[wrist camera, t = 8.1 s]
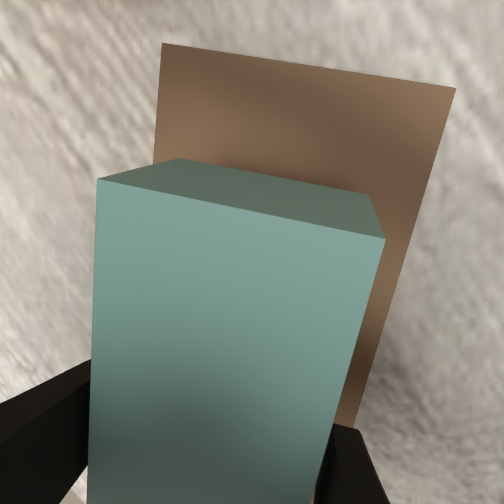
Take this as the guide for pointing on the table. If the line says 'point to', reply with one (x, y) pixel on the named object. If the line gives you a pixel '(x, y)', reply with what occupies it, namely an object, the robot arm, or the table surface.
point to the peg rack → (311, 148)
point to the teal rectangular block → (221, 332)
